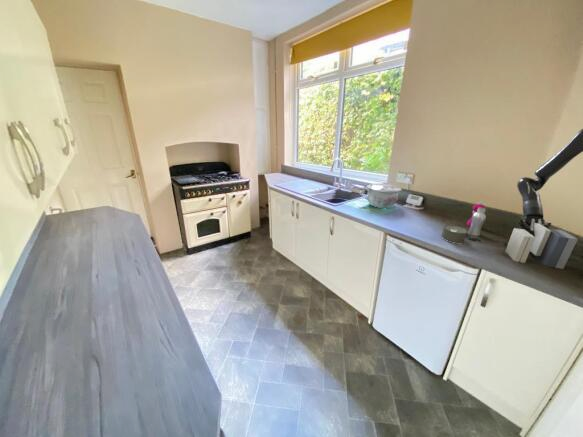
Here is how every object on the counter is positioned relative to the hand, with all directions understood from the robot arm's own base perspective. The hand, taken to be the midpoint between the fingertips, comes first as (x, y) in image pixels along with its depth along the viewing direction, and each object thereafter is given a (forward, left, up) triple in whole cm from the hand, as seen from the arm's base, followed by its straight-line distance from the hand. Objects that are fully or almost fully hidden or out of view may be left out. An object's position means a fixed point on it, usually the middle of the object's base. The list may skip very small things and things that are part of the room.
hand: (536, 238), depth 123 cm
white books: (+9, +7, -9) cm, 15 cm away
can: (+35, -5, -10) cm, 36 cm away
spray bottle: (+20, -25, -10) cm, 33 cm away
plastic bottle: (+24, -9, -10) cm, 27 cm away
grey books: (-4, +7, -9) cm, 12 cm away
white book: (0, +1, -7) cm, 7 cm away
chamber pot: (+78, -57, -10) cm, 97 cm away
